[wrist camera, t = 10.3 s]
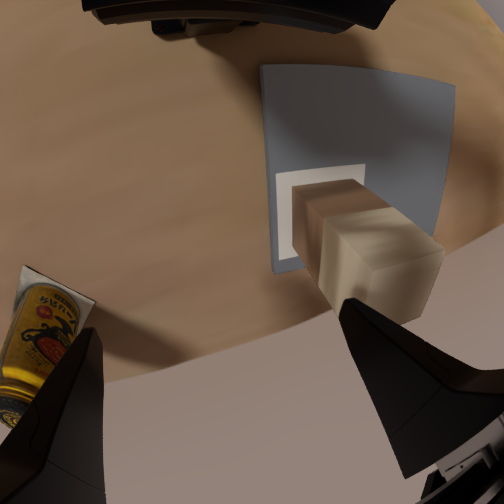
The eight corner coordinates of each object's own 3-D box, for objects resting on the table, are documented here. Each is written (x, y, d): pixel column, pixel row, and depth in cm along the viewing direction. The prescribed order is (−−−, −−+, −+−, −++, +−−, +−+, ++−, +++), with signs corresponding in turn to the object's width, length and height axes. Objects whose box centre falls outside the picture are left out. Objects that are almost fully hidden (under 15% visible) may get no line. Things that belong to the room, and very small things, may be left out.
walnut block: (291, 186, 20) (323, 219, 16) (352, 178, 21) (392, 206, 17) (292, 246, 23) (318, 286, 19) (347, 234, 24) (380, 269, 19)
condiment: (95, 300, 22) (77, 430, 12) (71, 350, 25) (58, 456, 15) (23, 263, 18) (-29, 384, 9) (11, 321, 21) (-19, 424, 11)
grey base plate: (259, 65, 15) (262, 64, 15) (449, 84, 18) (455, 85, 18) (271, 268, 25) (274, 275, 24) (428, 232, 27) (432, 235, 27)
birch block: (318, 285, 19) (353, 342, 15) (324, 217, 16) (372, 271, 12) (379, 269, 19) (420, 316, 15) (393, 206, 17) (446, 250, 13)
